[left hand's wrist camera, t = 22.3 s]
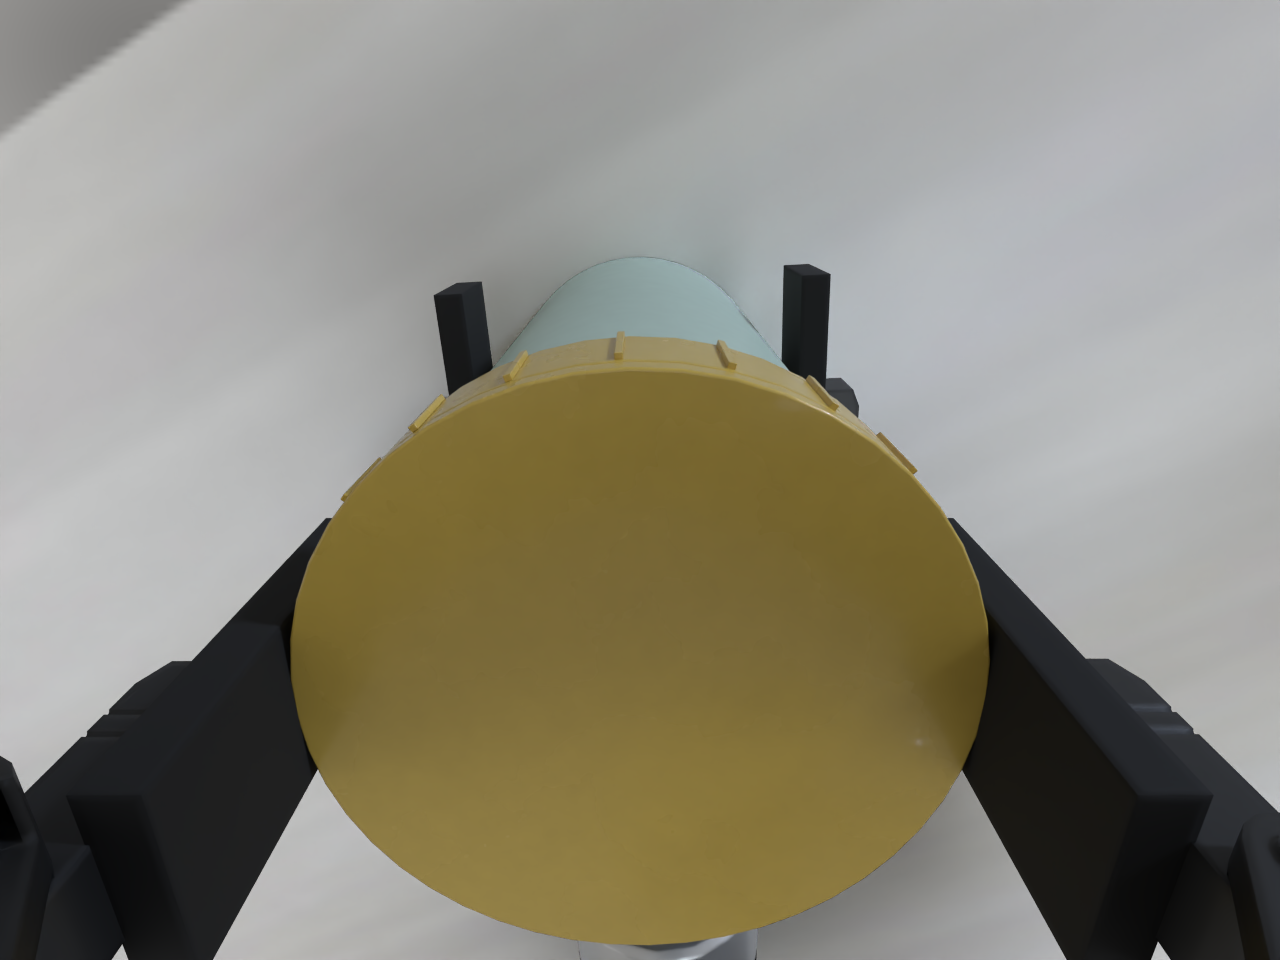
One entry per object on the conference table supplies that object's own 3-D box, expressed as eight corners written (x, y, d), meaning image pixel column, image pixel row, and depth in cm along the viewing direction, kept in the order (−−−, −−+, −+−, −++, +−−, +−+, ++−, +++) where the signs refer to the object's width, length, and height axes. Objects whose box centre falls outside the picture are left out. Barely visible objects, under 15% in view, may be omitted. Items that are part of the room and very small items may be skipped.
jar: (692, 523, 30) (757, 938, 14) (486, 435, 29) (275, 777, 12) (802, 322, 27) (1060, 540, 11) (577, 212, 26) (463, 262, 9)
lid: (319, 798, 14) (269, 895, 12) (372, 255, 10) (311, 270, 8) (825, 886, 15) (852, 989, 13) (1041, 415, 11) (1123, 462, 9)
